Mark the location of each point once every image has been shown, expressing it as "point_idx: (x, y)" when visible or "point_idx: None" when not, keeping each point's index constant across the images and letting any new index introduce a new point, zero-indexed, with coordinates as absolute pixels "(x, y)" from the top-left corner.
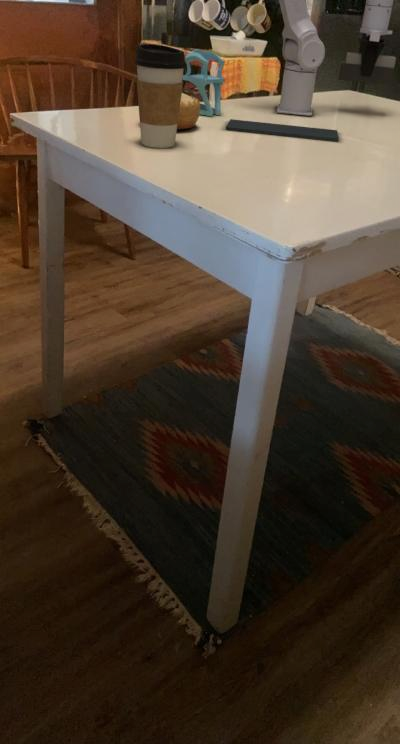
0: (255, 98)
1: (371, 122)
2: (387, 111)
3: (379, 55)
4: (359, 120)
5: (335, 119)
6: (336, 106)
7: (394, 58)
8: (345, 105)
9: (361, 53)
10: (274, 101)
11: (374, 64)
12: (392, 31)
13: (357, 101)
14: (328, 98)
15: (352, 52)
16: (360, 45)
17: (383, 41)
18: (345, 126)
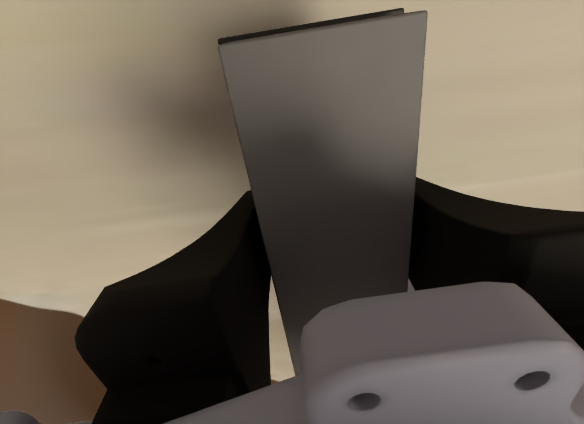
0: (277, 377)
1: (468, 63)
2: (143, 14)
3: (297, 205)
4: (447, 112)
5: (466, 186)
6: (219, 219)
7: (423, 32)
8: (168, 197)
9: (298, 321)
10: (284, 347)
11: (440, 188)
12: (535, 336)
13: (21, 172)
14: (81, 262)
15: (293, 363)
16: (270, 384)
17: (209, 286)
18: (576, 142)
